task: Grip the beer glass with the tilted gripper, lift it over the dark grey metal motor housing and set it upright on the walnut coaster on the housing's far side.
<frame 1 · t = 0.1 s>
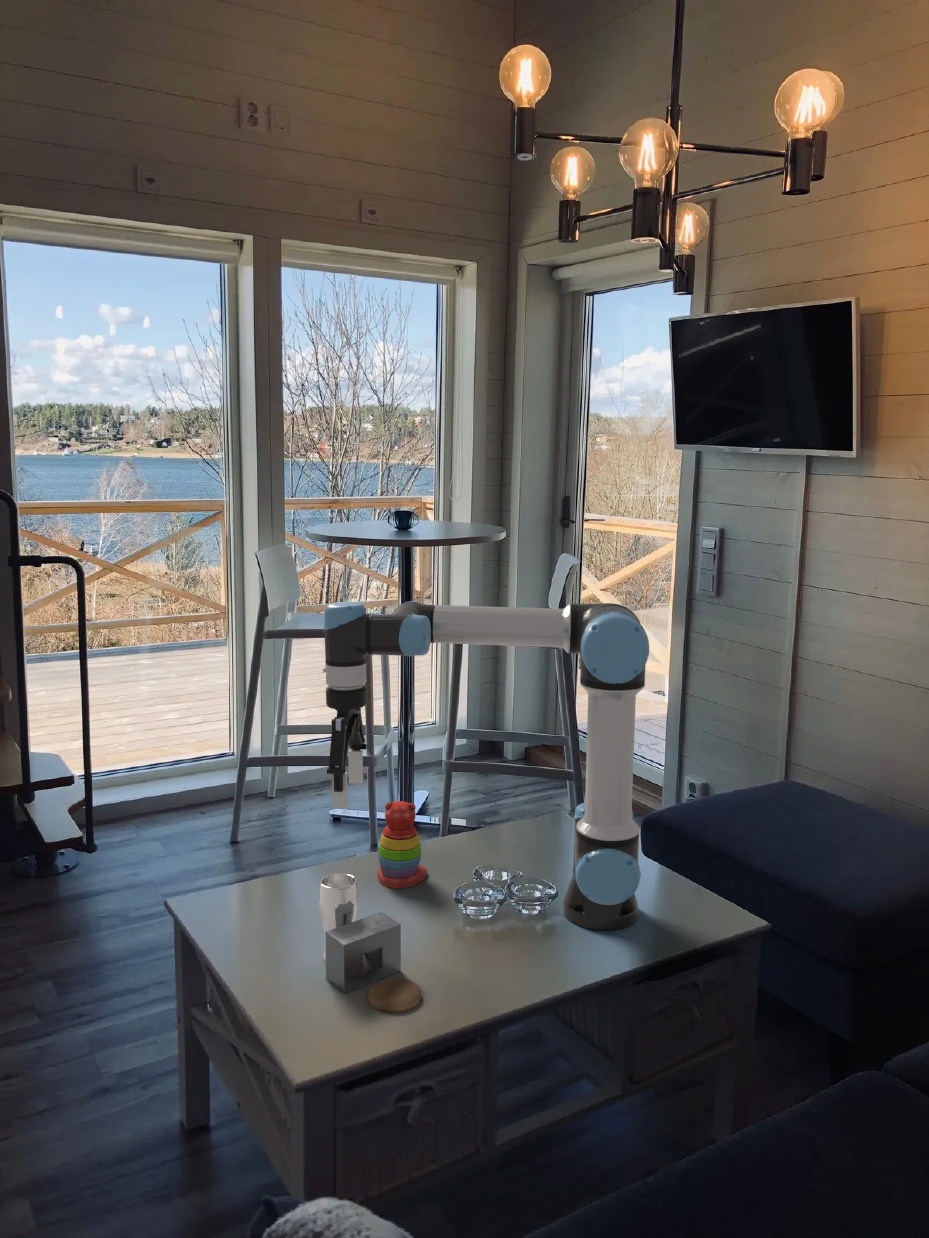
hand: (348, 794, 184), 28 cm above the table, tool pointing down, fingers open, 13 cm apart
walnut coaster: (394, 997, 167), on the table
stacking bear: (400, 879, 213), on the table
beer glass: (339, 957, 180), on the table
motor housing: (363, 974, 174), on the table
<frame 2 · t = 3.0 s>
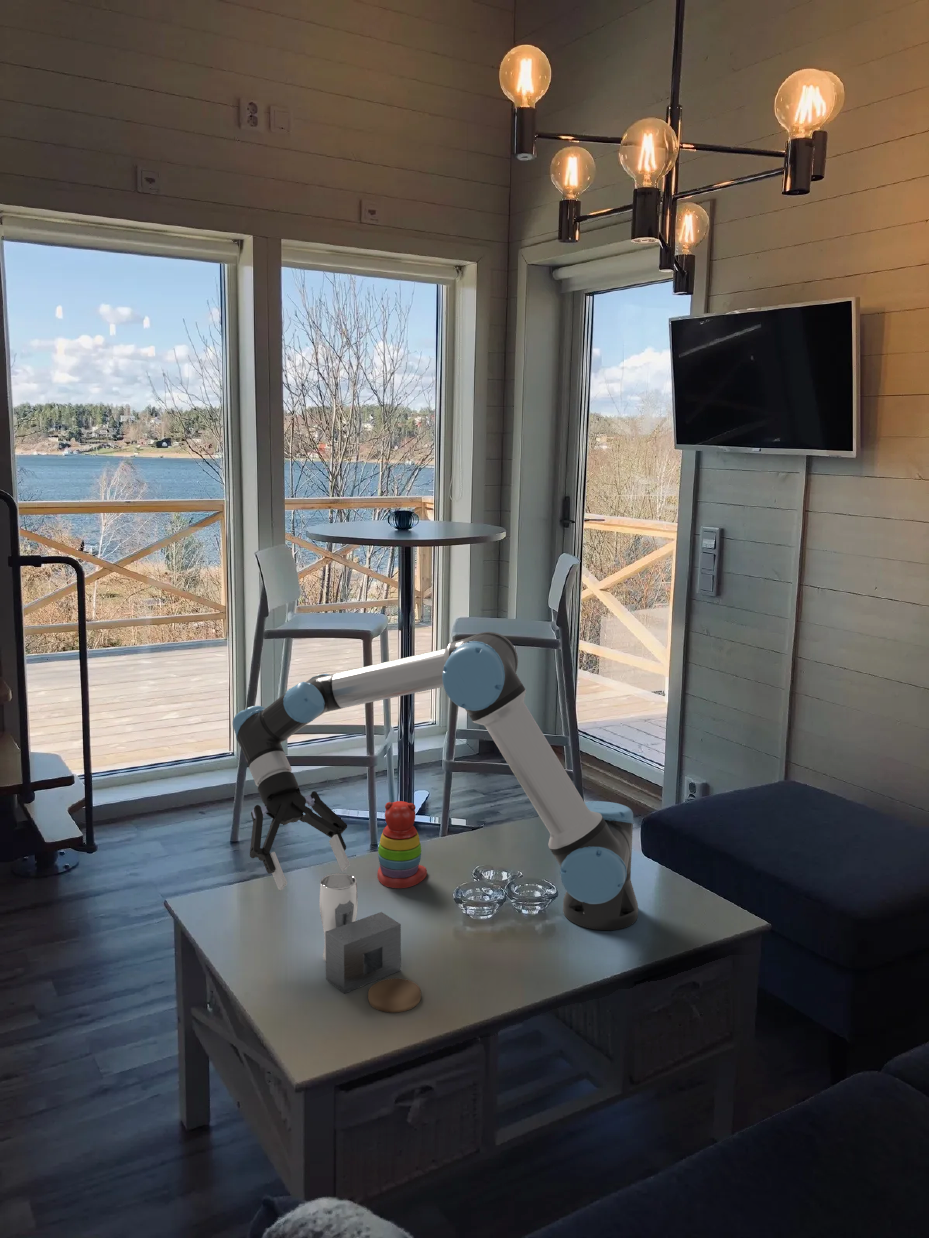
hand: (315, 877, 183), 13 cm above the table, tool tilted 45°, fingers open, 13 cm apart
nothing on the table moved.
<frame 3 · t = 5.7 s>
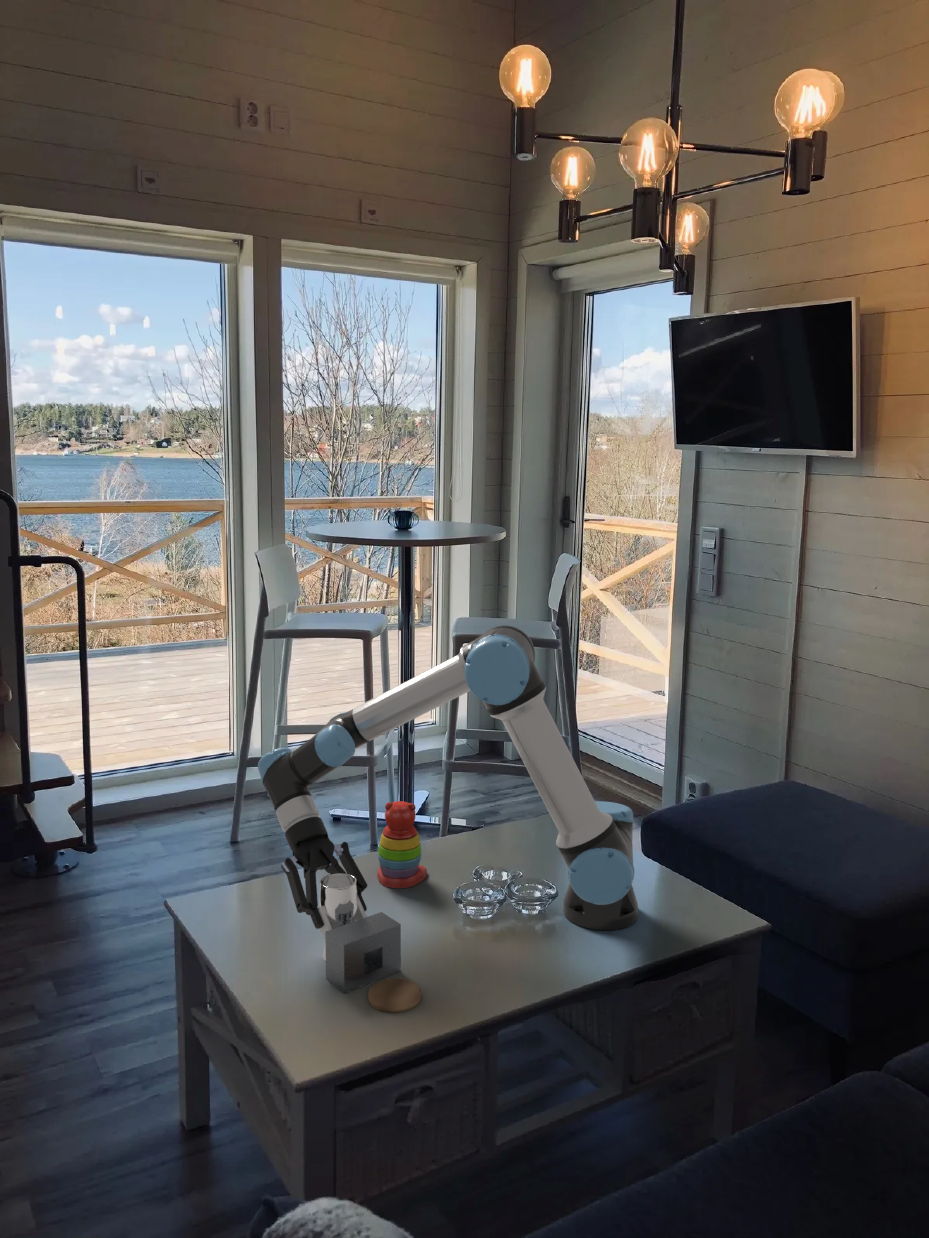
hand: (349, 936, 176), 5 cm above the table, tool tilted 45°, fingers closed on beer glass, 7 cm apart
beer glass: (339, 957, 180), on the table, touching gripper
everything else where it was.
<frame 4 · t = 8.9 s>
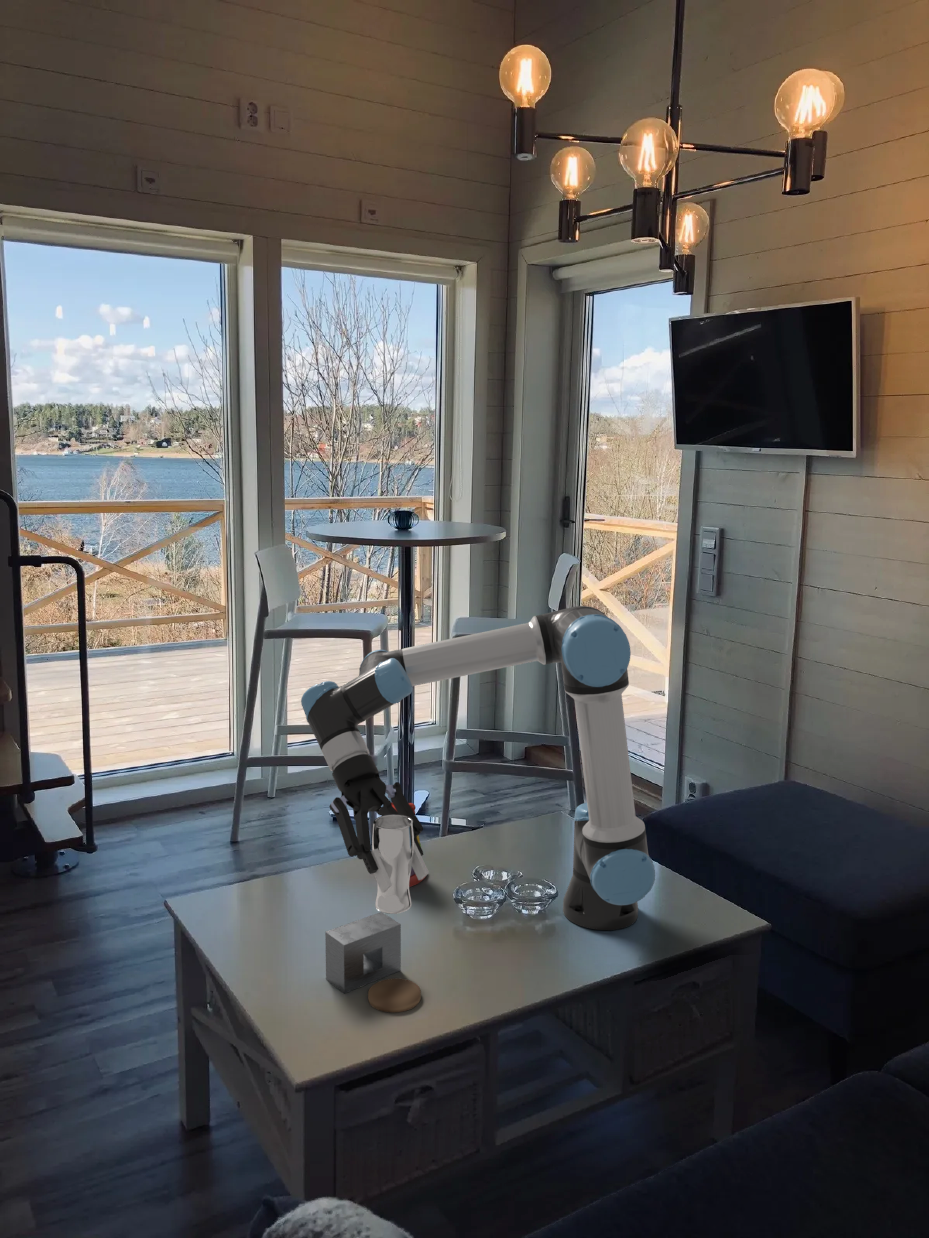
hand: (405, 882, 160), 22 cm above the table, tool tilted 45°, fingers closed on beer glass, 7 cm apart
beer glass: (393, 906, 164), point 17 cm above the table, touching gripper
everything else where it was.
when the fingers open (8 cm above the table, at t = 12.0 s): beer glass drops 1 cm, resting on walnut coaster.
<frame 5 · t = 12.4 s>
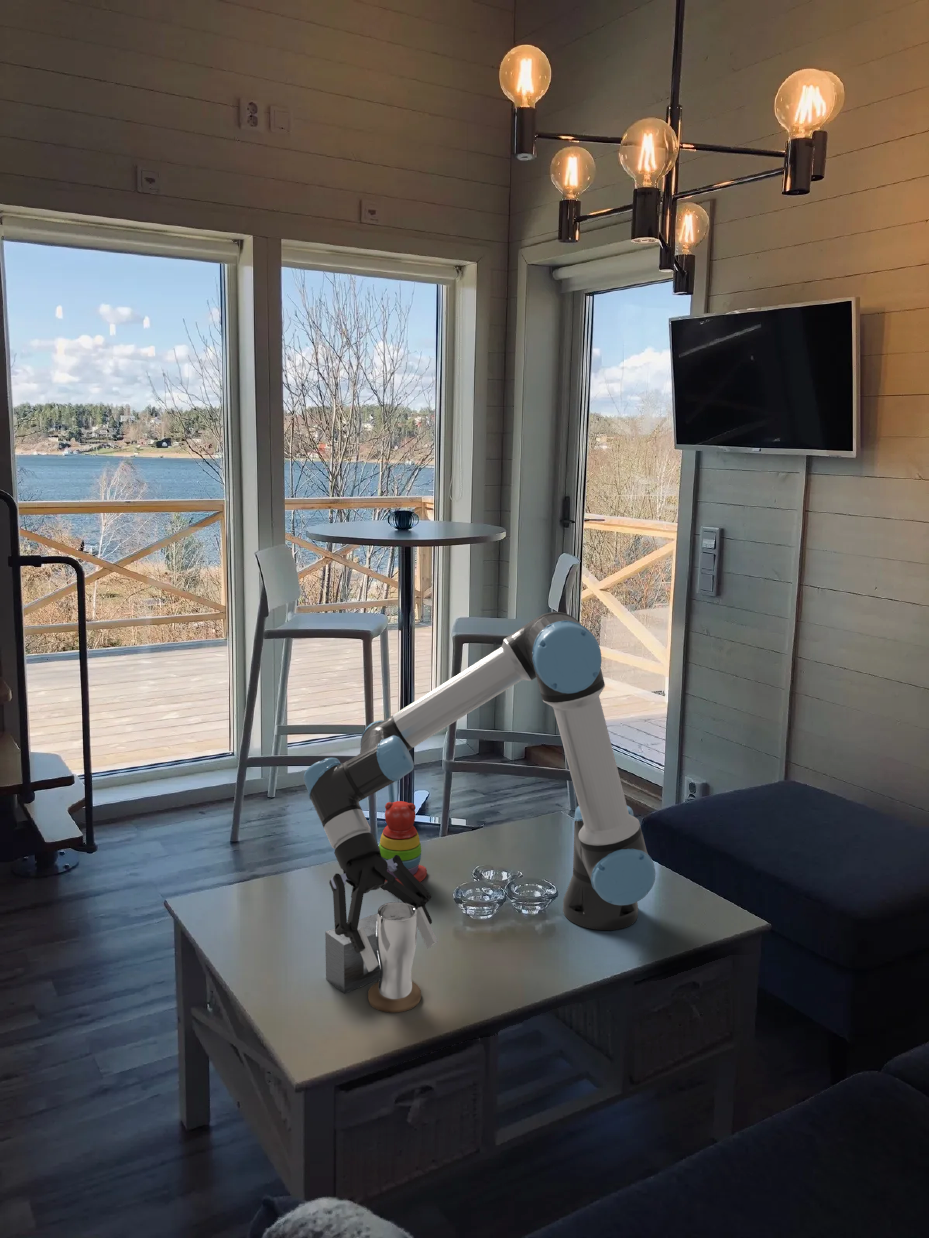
hand: (403, 956, 163), 9 cm above the table, tool tilted 45°, fingers open, 11 cm apart
beer glass: (395, 992, 166), point 1 cm above the table, touching walnut coaster
everything else where it was.
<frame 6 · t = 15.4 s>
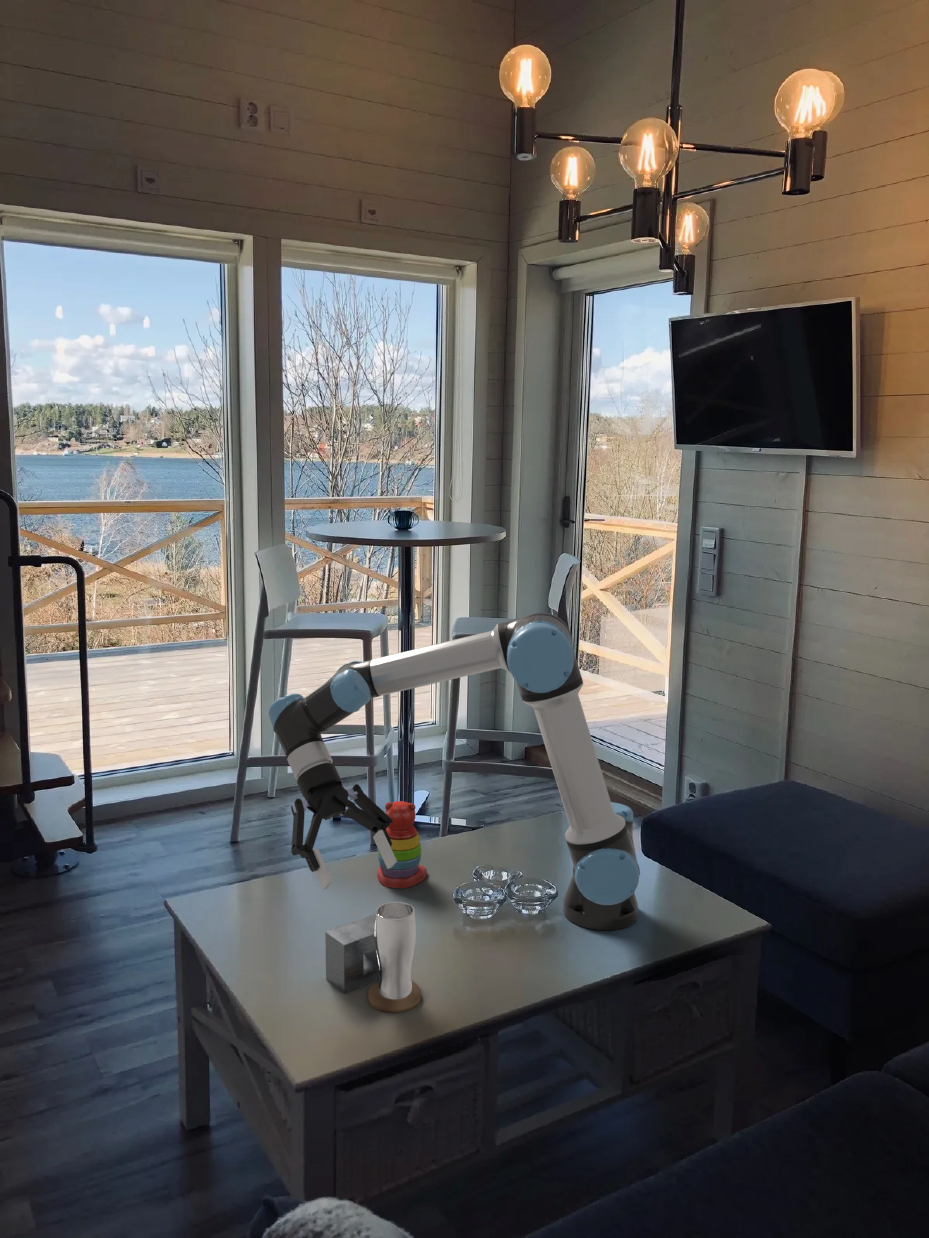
hand: (361, 875, 171), 19 cm above the table, tool tilted 45°, fingers open, 13 cm apart
nothing on the table moved.
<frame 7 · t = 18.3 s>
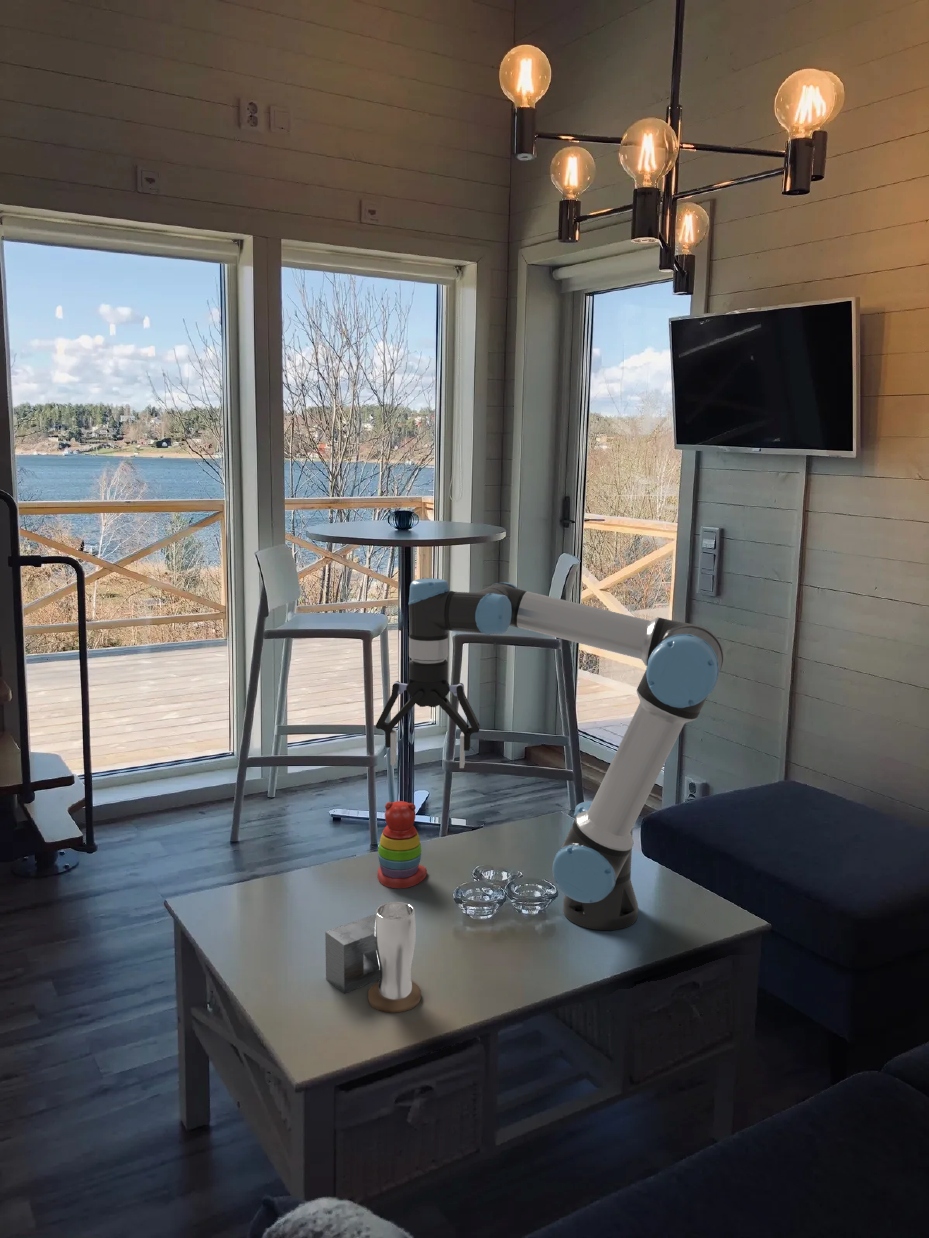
hand: (427, 764, 191), 32 cm above the table, tool pointing down, fingers open, 13 cm apart
nothing on the table moved.
at the end: beer glass inside the target area on the walnut coaster (0.1 cm from its centre), point 0.8 cm above the walnut coaster's base; beer glass tilted 0°; the gripper is holding nothing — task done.
